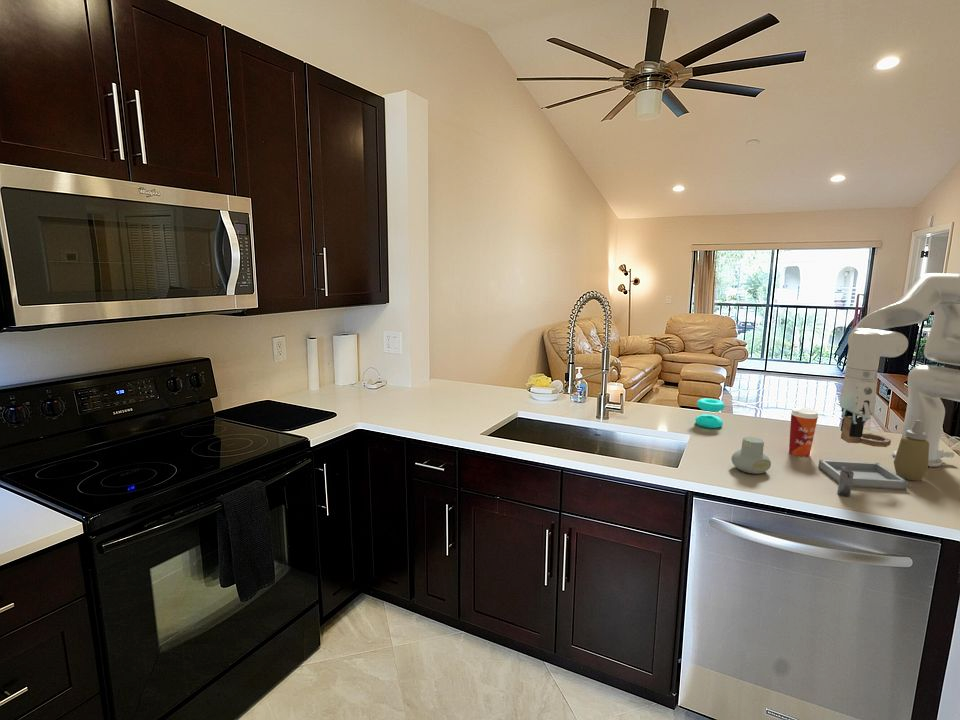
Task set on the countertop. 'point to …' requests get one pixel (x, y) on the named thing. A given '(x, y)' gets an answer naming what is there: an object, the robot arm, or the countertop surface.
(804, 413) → the coffee cup
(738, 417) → the countertop surface
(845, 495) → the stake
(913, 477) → the squeeze bottle
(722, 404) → the donuts
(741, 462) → the air freshener
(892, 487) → the tray
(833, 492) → the countertop surface
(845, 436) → the tabbed ring
